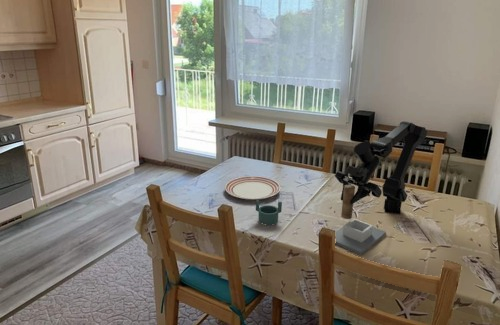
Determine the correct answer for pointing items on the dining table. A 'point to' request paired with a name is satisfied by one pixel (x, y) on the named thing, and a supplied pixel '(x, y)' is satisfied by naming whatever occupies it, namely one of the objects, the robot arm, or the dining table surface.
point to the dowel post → (347, 201)
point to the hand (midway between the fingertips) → (345, 202)
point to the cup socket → (358, 236)
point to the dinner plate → (252, 187)
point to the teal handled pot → (268, 213)
